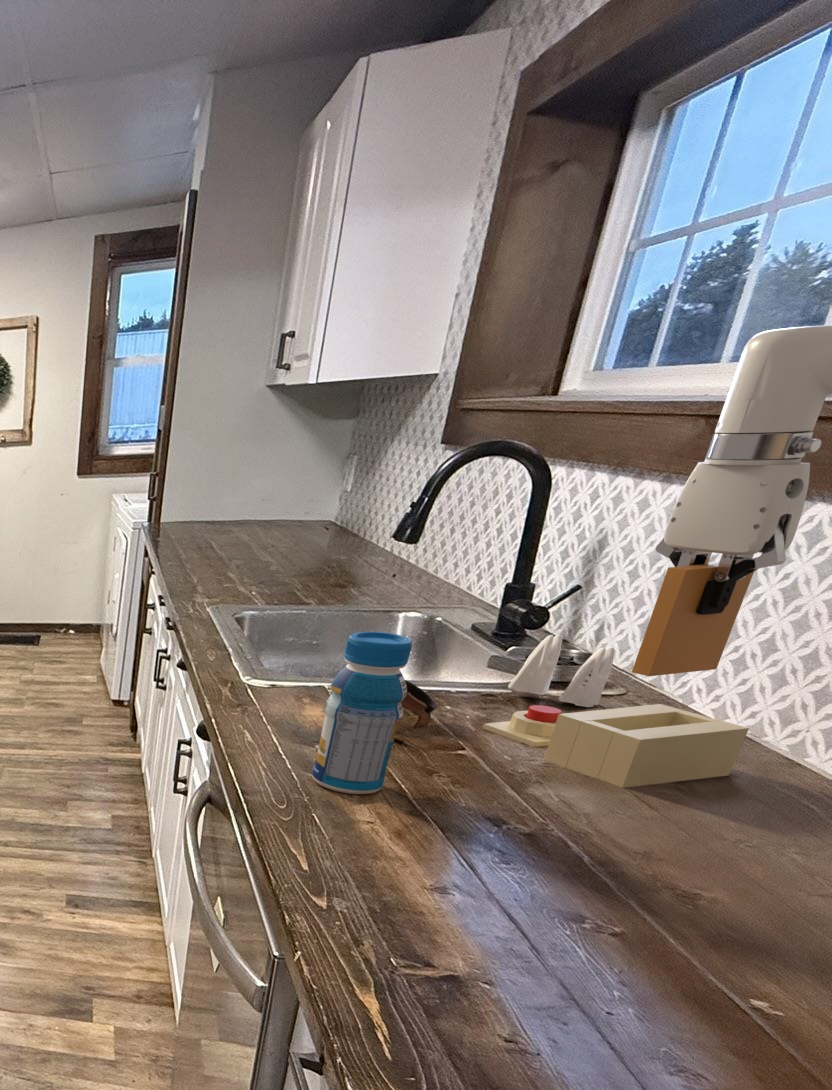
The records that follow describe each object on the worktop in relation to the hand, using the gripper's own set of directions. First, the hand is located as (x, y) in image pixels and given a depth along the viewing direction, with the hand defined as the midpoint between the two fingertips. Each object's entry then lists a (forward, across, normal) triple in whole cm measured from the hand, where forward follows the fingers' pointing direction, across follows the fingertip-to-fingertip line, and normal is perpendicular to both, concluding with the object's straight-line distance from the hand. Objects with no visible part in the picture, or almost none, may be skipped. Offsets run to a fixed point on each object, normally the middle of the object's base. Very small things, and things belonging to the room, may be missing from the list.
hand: (696, 610), depth 100 cm
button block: (+22, +13, +1) cm, 26 cm away
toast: (+8, 0, 0) cm, 8 cm away
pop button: (+19, +13, +1) cm, 23 cm away
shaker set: (+23, +28, -20) cm, 41 cm away
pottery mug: (+22, +25, +14) cm, 37 cm away
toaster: (+22, 0, +1) cm, 22 cm away
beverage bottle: (+22, +7, +37) cm, 43 cm away
